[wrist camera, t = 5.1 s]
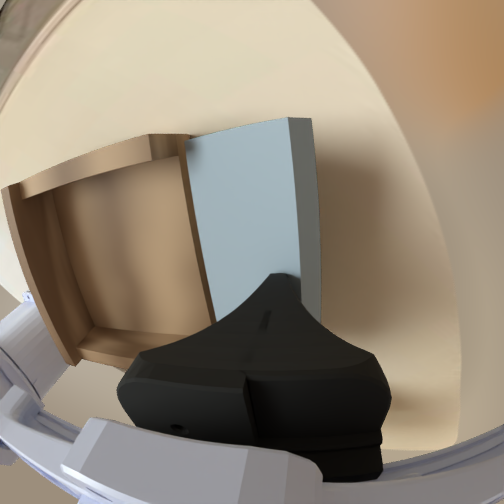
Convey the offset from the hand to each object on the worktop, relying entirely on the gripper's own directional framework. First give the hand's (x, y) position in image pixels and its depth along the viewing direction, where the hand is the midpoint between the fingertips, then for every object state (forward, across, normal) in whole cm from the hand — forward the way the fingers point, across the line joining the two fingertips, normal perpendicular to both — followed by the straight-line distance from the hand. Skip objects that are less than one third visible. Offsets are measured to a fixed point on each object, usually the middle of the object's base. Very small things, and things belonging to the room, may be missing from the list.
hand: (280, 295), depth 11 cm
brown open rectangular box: (+6, +11, 0) cm, 13 cm away
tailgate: (+4, +4, 0) cm, 6 cm away
